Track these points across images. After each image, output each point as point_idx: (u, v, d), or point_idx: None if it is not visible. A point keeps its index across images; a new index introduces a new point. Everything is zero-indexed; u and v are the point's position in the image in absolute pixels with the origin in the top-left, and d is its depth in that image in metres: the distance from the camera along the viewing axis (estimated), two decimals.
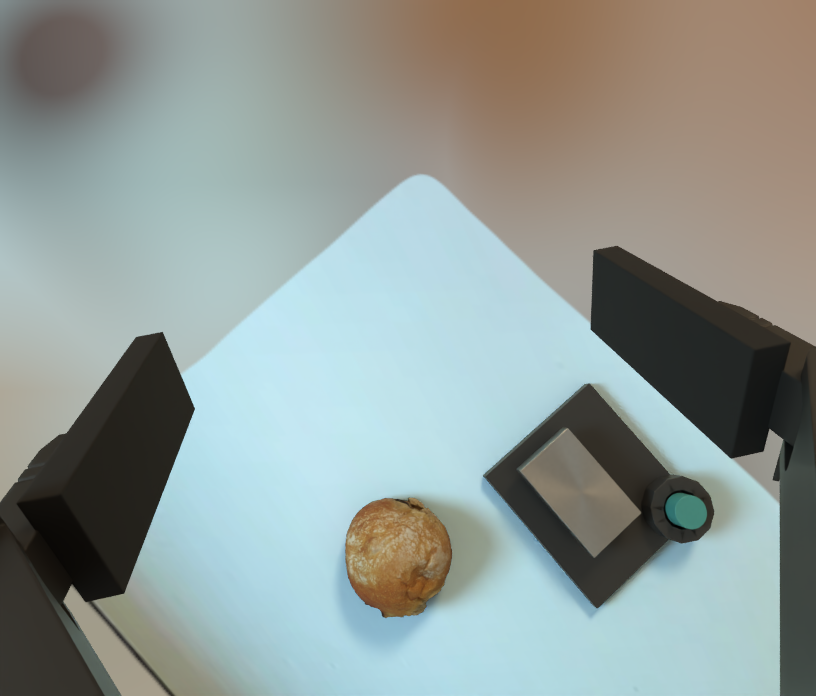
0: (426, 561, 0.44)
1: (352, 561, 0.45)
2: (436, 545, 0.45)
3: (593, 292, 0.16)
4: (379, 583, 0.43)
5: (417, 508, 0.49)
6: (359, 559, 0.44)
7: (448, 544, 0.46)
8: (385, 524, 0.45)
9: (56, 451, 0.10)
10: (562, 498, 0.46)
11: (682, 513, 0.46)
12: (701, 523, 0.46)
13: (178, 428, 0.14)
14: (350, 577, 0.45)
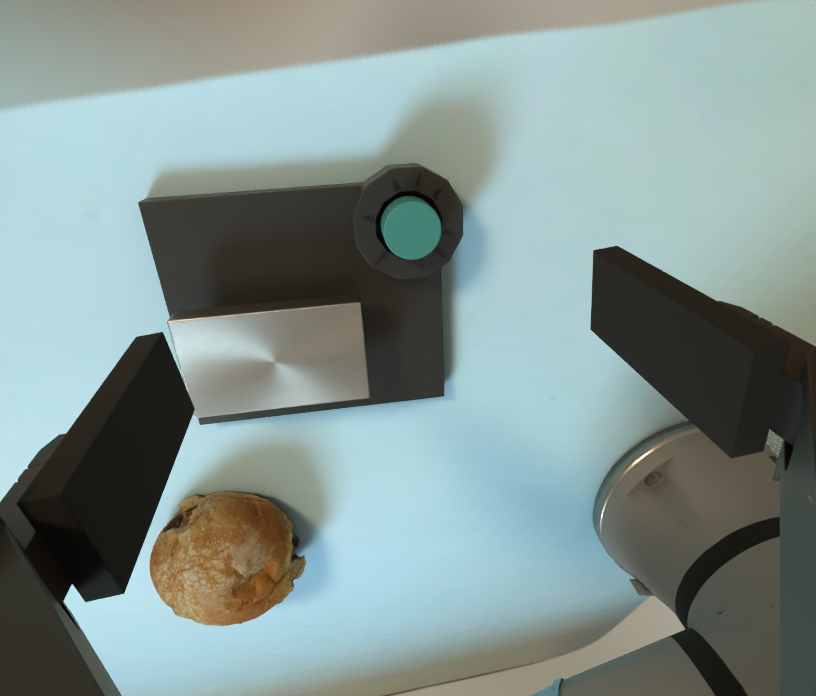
0: (233, 576, 0.33)
1: None
2: (226, 551, 0.33)
3: (593, 292, 0.16)
4: (226, 623, 0.34)
5: (193, 509, 0.36)
6: None
7: (243, 525, 0.34)
8: (166, 586, 0.33)
9: (56, 451, 0.10)
10: (267, 390, 0.29)
11: (404, 245, 0.26)
12: (438, 228, 0.26)
13: (178, 427, 0.14)
14: None
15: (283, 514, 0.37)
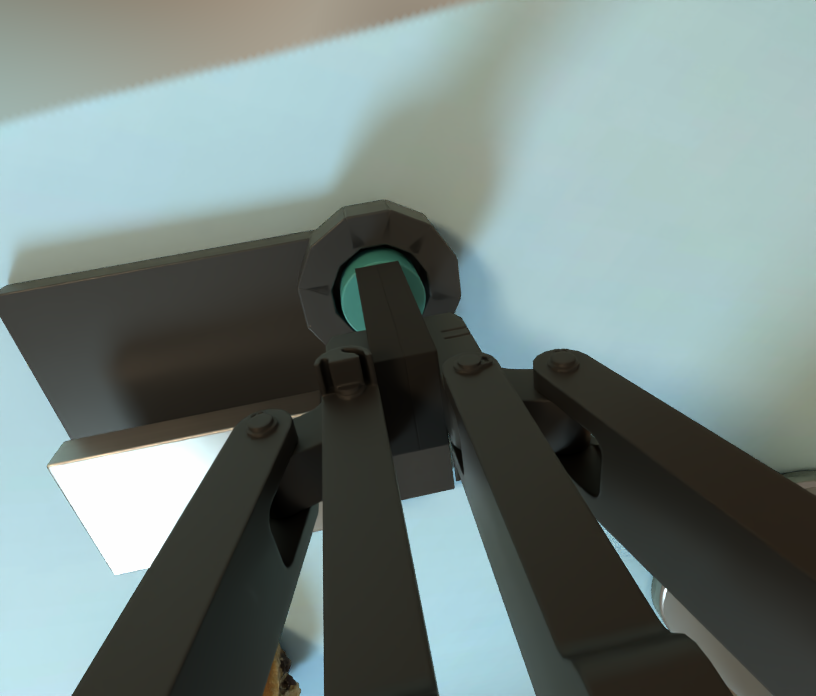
0: None
1: None
2: None
3: None
4: None
5: None
6: None
7: None
8: None
9: (369, 335, 0.12)
10: None
11: None
12: (420, 294, 0.18)
13: None
14: None
15: None
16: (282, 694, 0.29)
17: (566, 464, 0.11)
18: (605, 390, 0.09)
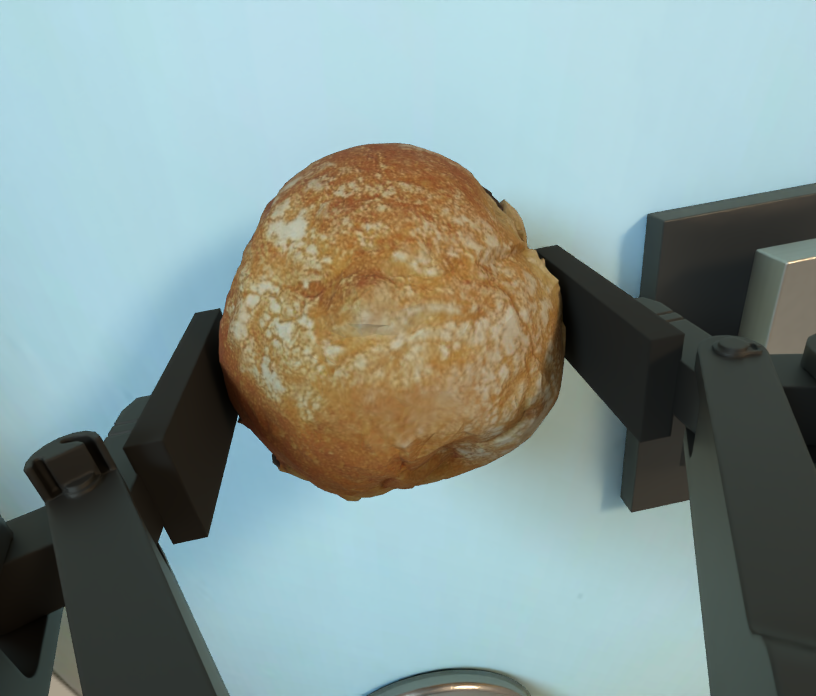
0: (501, 432, 0.13)
1: (257, 302, 0.12)
2: (548, 396, 0.13)
3: None
4: (322, 427, 0.12)
5: None
6: (288, 315, 0.11)
7: None
8: (447, 254, 0.11)
9: (147, 407, 0.11)
10: None
11: None
12: None
13: None
14: (226, 341, 0.12)
15: None
16: None
17: None
18: None
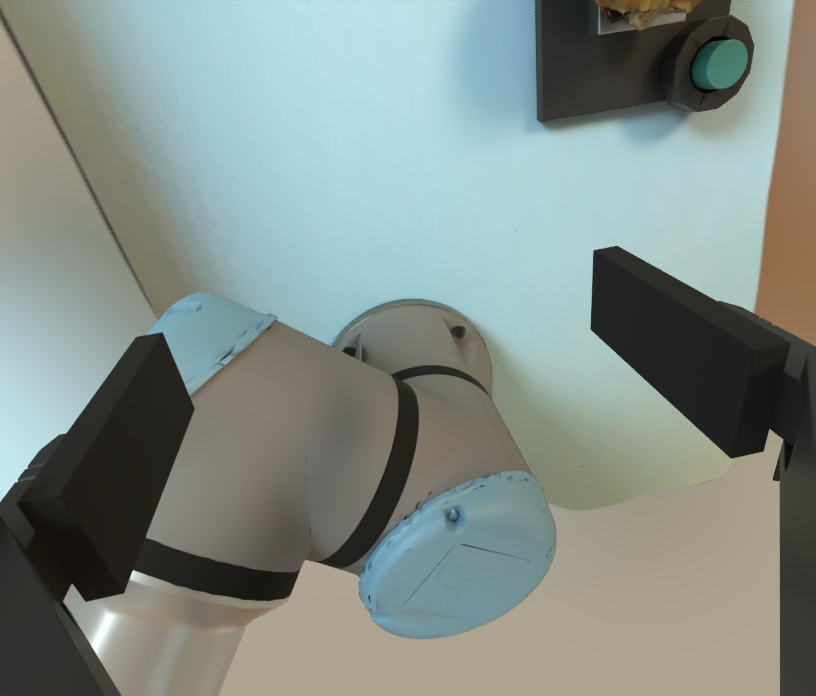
0: None
1: None
2: None
3: (593, 292, 0.16)
4: None
5: None
6: None
7: None
8: None
9: (56, 451, 0.10)
10: None
11: (719, 58, 0.35)
12: (725, 85, 0.36)
13: (178, 428, 0.14)
14: None
15: None
16: (663, 12, 0.30)
17: None
18: None
